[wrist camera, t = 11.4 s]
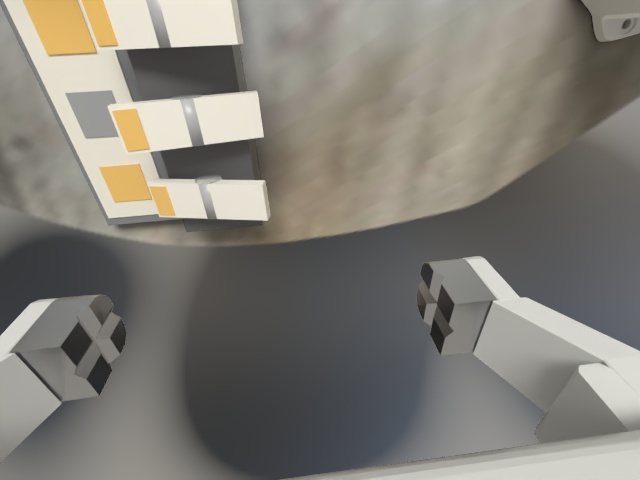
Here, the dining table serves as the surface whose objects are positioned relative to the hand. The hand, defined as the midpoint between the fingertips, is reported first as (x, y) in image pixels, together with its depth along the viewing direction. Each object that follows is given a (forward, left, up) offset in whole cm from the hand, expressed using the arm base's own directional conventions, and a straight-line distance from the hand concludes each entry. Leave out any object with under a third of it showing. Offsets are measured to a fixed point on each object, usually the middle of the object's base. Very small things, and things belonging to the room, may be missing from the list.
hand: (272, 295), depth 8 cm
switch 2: (+7, 0, -23) cm, 24 cm away
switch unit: (+12, 0, -29) cm, 31 cm away
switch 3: (+7, +7, -23) cm, 25 cm away
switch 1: (+7, -7, -23) cm, 25 cm away
